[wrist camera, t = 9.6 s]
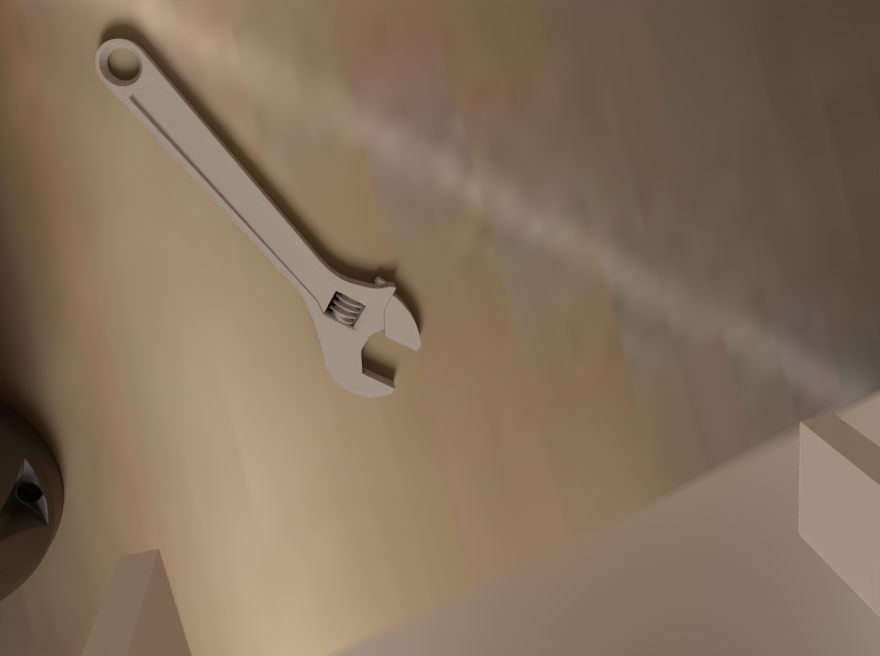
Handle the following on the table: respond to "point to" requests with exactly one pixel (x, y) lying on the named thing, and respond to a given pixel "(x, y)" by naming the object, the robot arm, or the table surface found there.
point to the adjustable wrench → (268, 227)
